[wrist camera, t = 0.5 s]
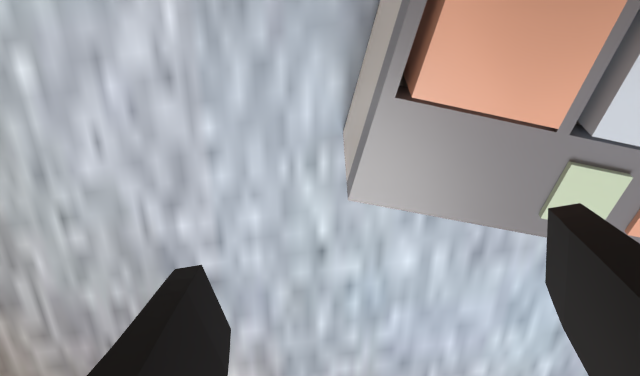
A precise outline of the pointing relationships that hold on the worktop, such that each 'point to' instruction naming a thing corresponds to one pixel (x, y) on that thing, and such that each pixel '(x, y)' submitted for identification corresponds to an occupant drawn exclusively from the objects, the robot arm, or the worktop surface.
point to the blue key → (618, 94)
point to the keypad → (479, 146)
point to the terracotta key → (508, 54)
